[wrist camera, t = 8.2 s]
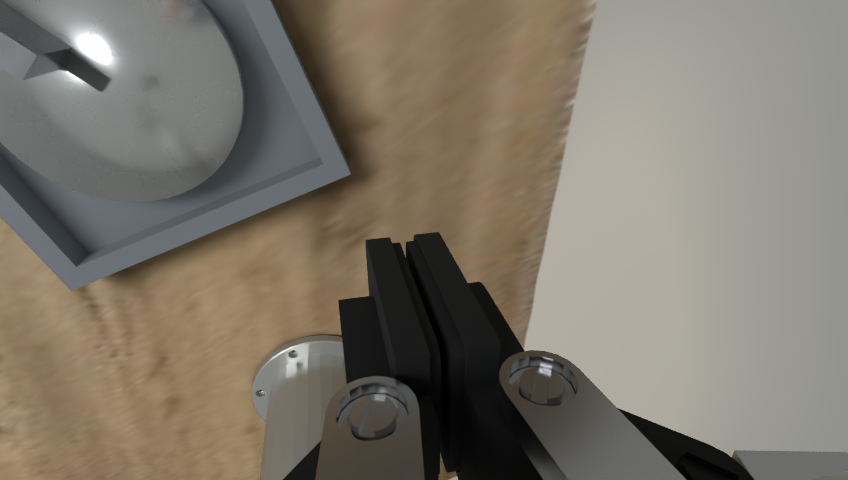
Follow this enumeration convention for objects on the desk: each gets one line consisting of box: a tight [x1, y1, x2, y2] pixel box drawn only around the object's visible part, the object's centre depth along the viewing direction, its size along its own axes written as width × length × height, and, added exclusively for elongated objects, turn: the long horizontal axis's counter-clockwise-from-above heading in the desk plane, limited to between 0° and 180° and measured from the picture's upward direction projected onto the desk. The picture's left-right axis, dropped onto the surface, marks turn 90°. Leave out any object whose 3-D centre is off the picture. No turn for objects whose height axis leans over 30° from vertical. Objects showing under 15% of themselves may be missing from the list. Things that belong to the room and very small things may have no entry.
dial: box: [0, 0, 246, 202], centre depth 27 cm, size 15×15×6 cm
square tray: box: [0, 0, 351, 291], centre depth 29 cm, size 22×22×3 cm
